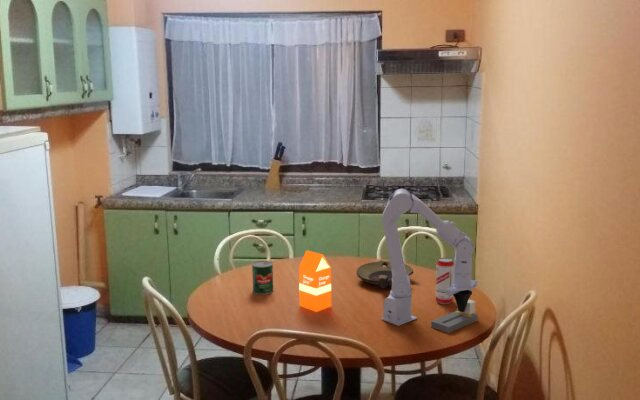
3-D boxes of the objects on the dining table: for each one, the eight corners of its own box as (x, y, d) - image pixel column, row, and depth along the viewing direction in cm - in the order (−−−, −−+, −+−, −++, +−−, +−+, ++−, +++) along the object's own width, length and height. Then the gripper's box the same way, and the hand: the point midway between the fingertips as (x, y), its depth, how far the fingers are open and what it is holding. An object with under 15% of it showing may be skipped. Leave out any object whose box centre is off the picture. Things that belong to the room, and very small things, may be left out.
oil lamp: (421, 277, 257) (421, 259, 255) (392, 299, 231) (393, 279, 230) (371, 269, 268) (371, 252, 266) (339, 290, 242) (339, 271, 241)
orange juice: (314, 300, 231) (313, 248, 227) (331, 306, 225) (331, 252, 221) (299, 305, 226) (298, 252, 222) (316, 312, 219) (315, 257, 216)
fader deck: (448, 333, 200) (448, 326, 200) (431, 326, 205) (431, 320, 205) (477, 320, 210) (477, 314, 210) (460, 314, 216) (460, 308, 215)
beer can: (440, 297, 232) (441, 256, 229) (456, 301, 228) (457, 259, 225) (432, 302, 228) (433, 260, 225) (447, 306, 224) (449, 263, 221)
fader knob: (469, 314, 209) (470, 303, 208) (457, 310, 212) (457, 299, 211) (474, 312, 210) (475, 301, 210) (462, 308, 214) (462, 297, 213)
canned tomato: (260, 296, 236) (260, 268, 234) (248, 291, 242) (247, 263, 240) (277, 291, 241) (276, 263, 239) (265, 286, 247) (264, 259, 245)
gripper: (459, 279, 199) (458, 320, 202) (485, 270, 209) (484, 309, 211) (441, 274, 204) (440, 314, 207) (467, 265, 214) (466, 303, 216)
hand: (461, 311), depth 209 cm, fingers closed
